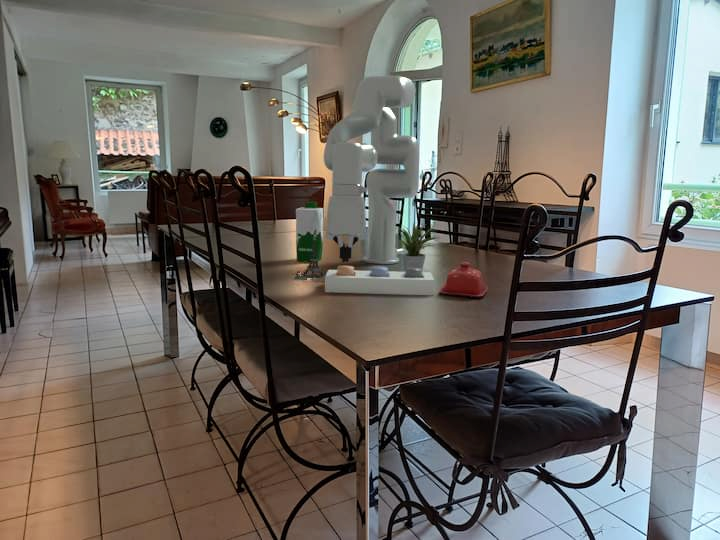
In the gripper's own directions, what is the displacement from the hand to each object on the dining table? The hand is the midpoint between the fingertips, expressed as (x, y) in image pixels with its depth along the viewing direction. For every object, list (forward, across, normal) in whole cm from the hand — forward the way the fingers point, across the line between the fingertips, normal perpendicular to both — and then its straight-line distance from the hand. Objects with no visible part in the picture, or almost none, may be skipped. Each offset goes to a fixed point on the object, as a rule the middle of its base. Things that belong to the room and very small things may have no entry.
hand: (345, 261), depth 137 cm
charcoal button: (+5, -18, 0) cm, 19 cm away
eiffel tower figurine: (+8, +11, -15) cm, 20 cm away
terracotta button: (+5, 0, 0) cm, 5 cm away
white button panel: (+7, -9, 0) cm, 12 cm away
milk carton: (+7, +15, -41) cm, 44 cm away
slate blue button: (+5, -9, 0) cm, 10 cm away
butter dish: (+8, -31, +1) cm, 32 cm away
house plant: (+7, -19, -20) cm, 29 cm away
